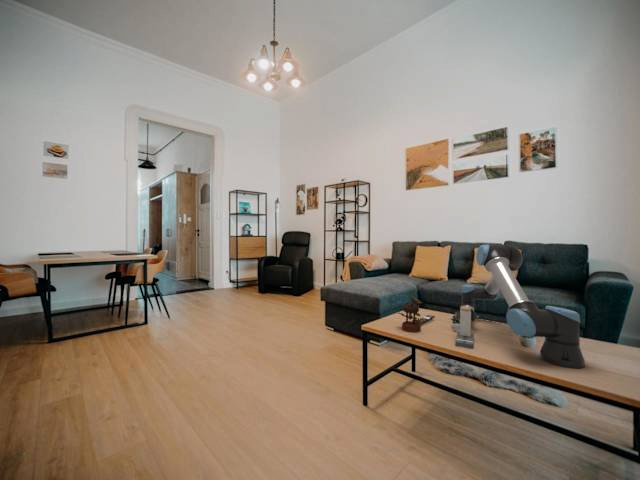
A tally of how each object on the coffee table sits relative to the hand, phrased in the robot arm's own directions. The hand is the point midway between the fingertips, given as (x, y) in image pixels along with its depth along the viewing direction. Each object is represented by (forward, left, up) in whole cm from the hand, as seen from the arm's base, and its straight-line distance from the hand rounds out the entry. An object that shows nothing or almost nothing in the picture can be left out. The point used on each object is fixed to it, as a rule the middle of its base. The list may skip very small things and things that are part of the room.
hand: (465, 321), depth 157 cm
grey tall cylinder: (-4, +4, -6) cm, 8 cm away
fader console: (-8, +8, -8) cm, 14 cm away
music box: (+17, +24, -8) cm, 30 cm away
